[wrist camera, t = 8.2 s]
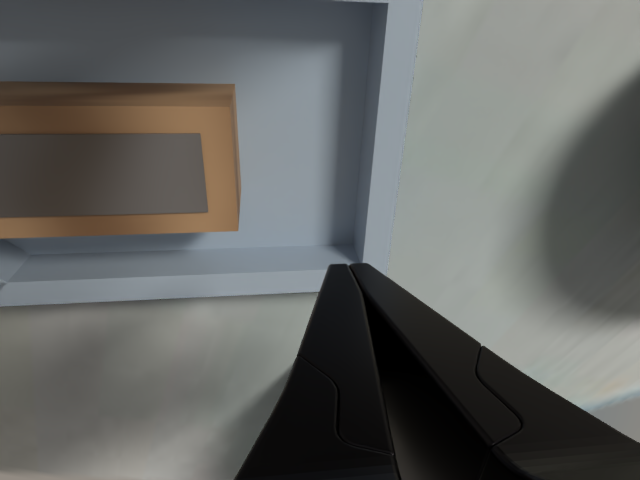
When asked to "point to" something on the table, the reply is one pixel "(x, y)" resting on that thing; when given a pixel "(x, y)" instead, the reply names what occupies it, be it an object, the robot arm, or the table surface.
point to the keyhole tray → (253, 136)
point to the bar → (117, 158)
